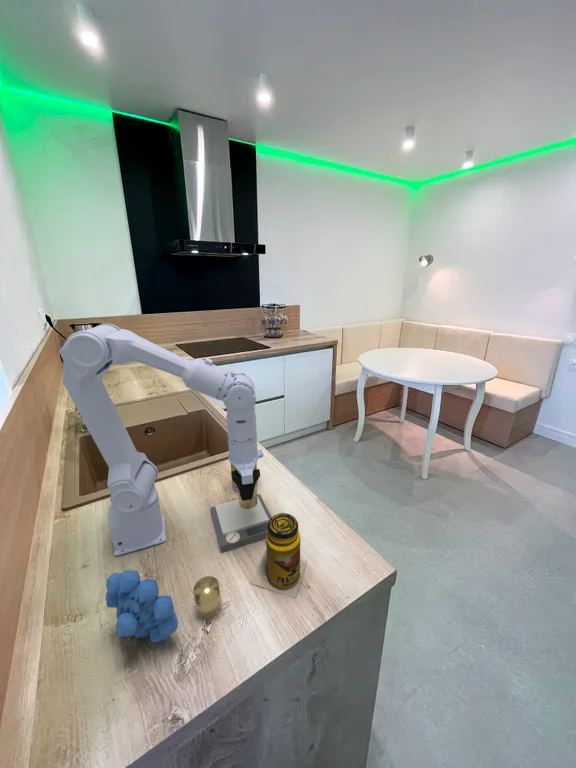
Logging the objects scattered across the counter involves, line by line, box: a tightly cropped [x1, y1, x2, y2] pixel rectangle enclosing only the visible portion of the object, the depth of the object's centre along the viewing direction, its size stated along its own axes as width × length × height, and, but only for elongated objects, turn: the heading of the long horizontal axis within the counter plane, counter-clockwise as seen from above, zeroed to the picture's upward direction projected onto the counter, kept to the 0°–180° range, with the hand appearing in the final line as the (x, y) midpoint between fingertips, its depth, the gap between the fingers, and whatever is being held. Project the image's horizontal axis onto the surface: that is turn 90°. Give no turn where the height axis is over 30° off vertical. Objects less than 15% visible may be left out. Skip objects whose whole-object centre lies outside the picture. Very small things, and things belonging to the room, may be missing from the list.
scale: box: [210, 493, 273, 554], centre depth 68 cm, size 12×12×2 cm
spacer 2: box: [237, 482, 258, 509], centre depth 66 cm, size 4×4×5 cm
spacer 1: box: [192, 575, 222, 621], centre depth 50 cm, size 4×4×5 cm
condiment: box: [250, 512, 307, 598], centre depth 55 cm, size 7×8×12 cm
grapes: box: [105, 569, 179, 643], centre depth 45 cm, size 12×7×12 cm, turn 74°
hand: (245, 491), depth 66 cm, fingers closed on spacer 2, 4 cm apart
